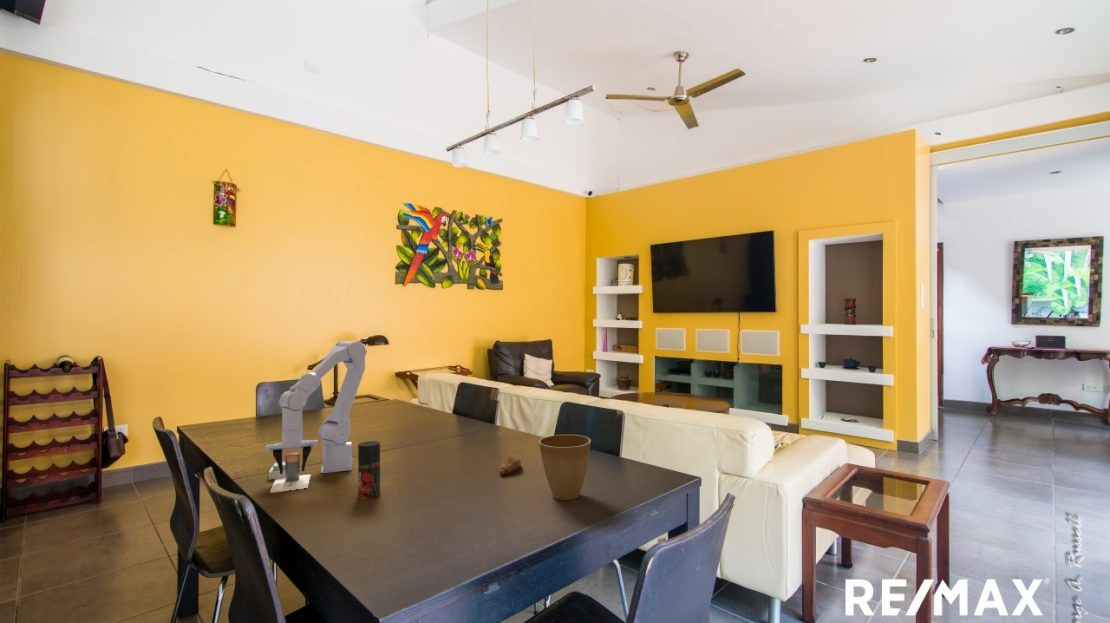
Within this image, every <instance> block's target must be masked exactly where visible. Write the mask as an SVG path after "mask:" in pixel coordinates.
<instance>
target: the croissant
mask: <svg viewBox="0 0 1110 623" xmlns="http://www.w3.org/2000/svg"><path fill="white" fill-rule="evenodd" d="M521 465H522V463H521V460H520V459H518V458H516V457H514V456H508V457H506V458H504V459H503V460H502V462H501V464H500V467H499V469H498V470H499V475H500V476H509V475H510V474H512V473H515V472H517V471H518V470H519V468H520V467H521Z"/></svg>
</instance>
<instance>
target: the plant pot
mask: <svg viewBox="0 0 1110 623" xmlns="http://www.w3.org/2000/svg"><path fill="white" fill-rule="evenodd" d="M591 441H592V440H591V438H589V437H588V436H585V435H580V434H555V435H549V436H545V437H542V438H541V439H539V441H538V444H539V451H540V456H541V461H542V465H543V469H544V473H545V477H546V480H547V483H548V486H549V488H550V491H551V494H552V496H553V498H554V499H556V500H561V501H572V500H575V499H578V497H579V496H580V494H581V491H582V488H583V484H584V481H585V478H586V473H587V469H588V463H589V459H590V450H591Z"/></svg>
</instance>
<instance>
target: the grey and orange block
mask: <svg viewBox="0 0 1110 623" xmlns="http://www.w3.org/2000/svg"><path fill="white" fill-rule="evenodd" d="M300 454H301V453H299V452H290V453H286V454H285V455H284V462H285V481H286V482H293V481H297V480H299V479H300V472H301V471H300V468H301V467H300V459H301V457H300Z"/></svg>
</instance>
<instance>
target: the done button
mask: <svg viewBox="0 0 1110 623" xmlns="http://www.w3.org/2000/svg"><path fill="white" fill-rule="evenodd" d="M282 463H283V470H285V461H282ZM272 467H273V471H278V470H279V466H278V464H277V462H274V464H273V466H272Z"/></svg>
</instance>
